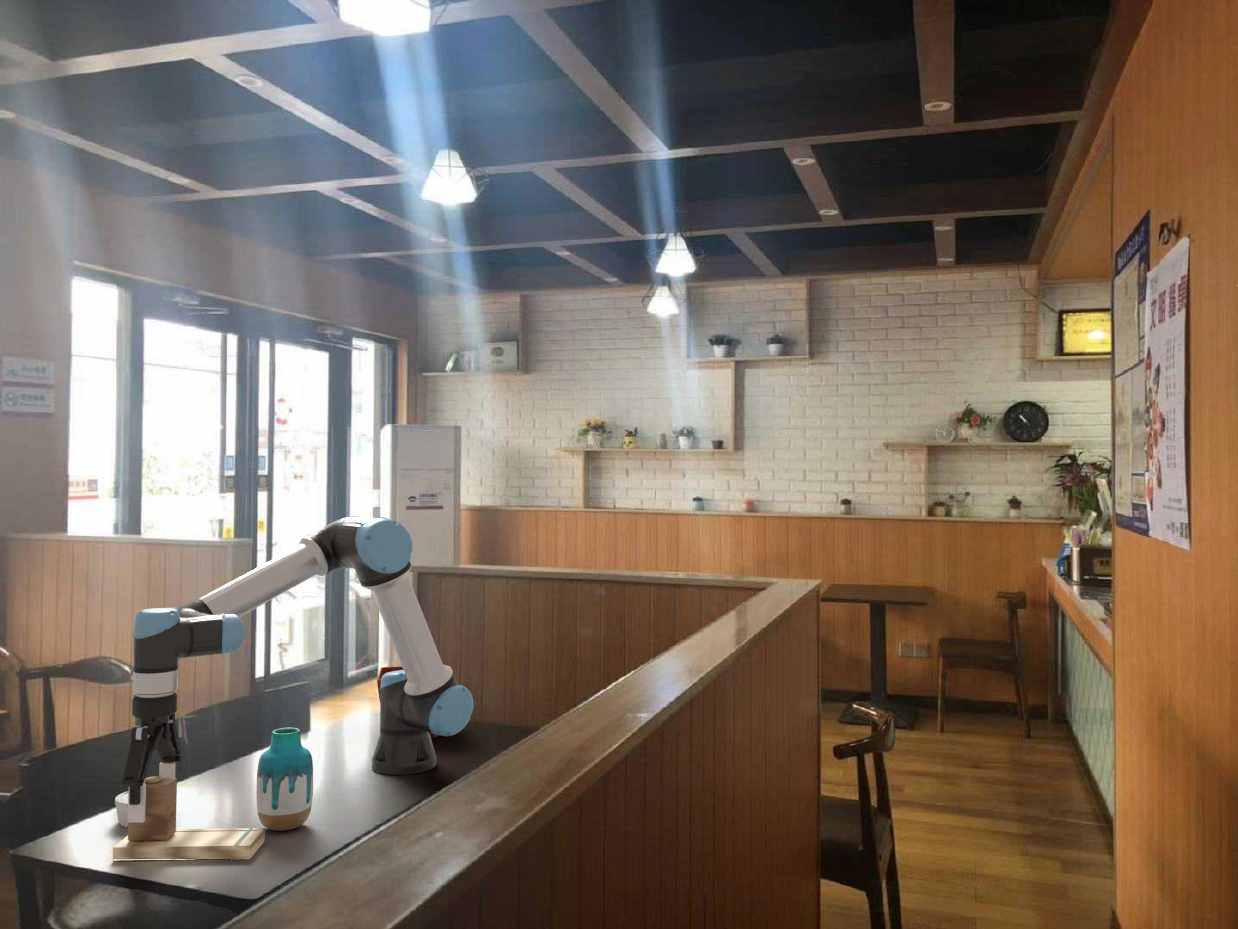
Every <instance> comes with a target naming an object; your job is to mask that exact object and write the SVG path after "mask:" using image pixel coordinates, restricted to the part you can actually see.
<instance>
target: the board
mask: <svg viewBox="0 0 1238 929" xmlns="http://www.w3.org/2000/svg"><path fill="white" fill-rule="evenodd" d="M265 828H266V827H246V828H245V827H244V828H243V827H237V828H235V827H234V828H233V827H232V828H231V827H230V828H229V827H228V828H227V827H226V828H176V833H174V834H173V835H172V836H171V837H170V838H169V839H168V840H134V841H128V835H126V836H125V837H123V839H121V840H120V841H119V842H118V843H117V844H116V845H114V846H113V847H112V860H113V859H226V860H225V861H228V860H227V859H230V861H232V860H233V859H234V861H235V860H241V859H242V860H243V859H244V860H251V859H252V857H253V856H254V855H255V854H256V852H257V851H258V850H259V849H260V847H261V846H262V845H263V844H264V842H265V841H266V840H265V838H266V837H265V836H266V834H265V832H266V829H265Z"/></svg>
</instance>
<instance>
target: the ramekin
mask: <svg viewBox="0 0 1238 929" xmlns="http://www.w3.org/2000/svg"><path fill="white" fill-rule="evenodd" d="M114 805H115V807H116V816H117V821H118V823H119V825H121V827H123V826H126V827H125V828H127V827H128V791H124V792H122V793H120V794H118V795H116V796H115V799H114Z"/></svg>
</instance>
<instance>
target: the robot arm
mask: <svg viewBox="0 0 1238 929" xmlns="http://www.w3.org/2000/svg"><path fill="white" fill-rule="evenodd" d="M413 546H414V545H413V540H412V538H411V535H410V533H409V531H408V529H407V528H406V527H405V526H404V525H403V524H401V523H400V522H398V521H396V520H395V519H390V518H387V517H381V516H375V517H374V516H373V517H371V516H370V517H368V516H356V515H351V516H346V517H343V518H340V519H337V520H335V521H333V522H331V523H328V524H326V525H324V526H323V527H321V528H319V529H316V530H315V531H313V532H311V533H309V534H307V535H306V536H304V537H302V538H301V539H300V541H299V544H298V545H297V546H295V547H293V548H291V549H289V550H288V551H286V552H284V553H281V554H279V555H278V556H276V557H274V558H273V559H270V560H268V561H267V562H265V563H263V564H261V565H259V566H257V567H256V568H254V569H252V570H249V571H248V572H246V573H244V574H243V575H240V576H238V577H237V578H234V579H233V580H231V581H229V582H227V583H225V584H224V585H222V586H220V587H218V588H216V589H214V590H213V591H210V592H208V593H206V594H204V595H203V596H201V597H199V598H197V599H195V600H193V601H190V602H189V603H188V604H185V605H184V606H176V607H161V608H160V607H155V608H153V607H152V608H145V609H141V610H140V611H138V612H137V613H136V615H135V618H134V626H133V634H132V638H133V667H132V668H133V672H132V673H133V674H132V675H131V676H130V680H132V692H133V694H135V695H133V697H132V699H131V700H132V701H131V715H132V716H133V717H134V718H138V719H140V726H139V727H133V728H132V729H131V737H130V740H131V741H130V744H129V749H128V755H127V758H126V763H125V767H124V768H125V769H124V774H123V778H122V783H121V784H122V786H123V787H128V822H144V821H145V806H146V784H143V783H144V780H145V779H146V778H147V777H146V776H147V773H148V769H149V766H150V764H151V760H152V758H153V757H152V756H153V752H155V751H156V750H157V751H158V754H159V756H160V760H161V762H160V763H159V768H158V771H159V772H158V776H160V777H162V778H176V764H177V763H176V762H181V760H182V755H181V753H182V752H181V746H180V740H179V736H178V729H177V724H176V713H177V710H178V694H177V693H176V692H177V691H178V689H179V688H178V687H179V683H178V682H179V659H187V658H194V657H202V656H203V657H204V656H213V655H224V654H229V653H234V652H237V651H239V650H240V648H241V647H242V645H243V642H244V638H245V628H244V623H243V621H242V619H241V617H243V616H244V615H246V614H248V613H250V612H251V611H254V610H255V609H257V608H259V607H261V606H263V605H264V604H266V603H268V602H270V601H271V600H274V599H276V598H277V597H278V596H281V595H282V594H284V593H286V592H287V591H289V590H291V589H293V588H295V587H296V586H299V585H300V584H302V583H304V582H306V581H307V580H309V579H311V578H314V576H319V577H323V576H324V577H325V576H326V575H327V574H330V573H331V572H334V571H336V570H337V571H338V570H340V569H353V570H354V571H355V573H356V576H357V579H358V580H359V584H360V585H361V587H362V588H365V589H368V590H370V592H371V594H372V596H373V599H374V601H375V603H376V606H377V608H378V611H379V614H380V616H381V619H382V621H383V623H384V625H385V627H386V631H387V633H388V635H389V638H390V640H391V642H392V645H393V647H394V650H395V652H396V655H397V657H398V660H399V662H400V665H401V666H402V667H403V670H399V671H392V672H388V673H385V674H384V675H383V676H382V678H381V686H380V691H381V694H380V699H379V703H380V704H379V706H380V708H379V710H380V711H379V712H380V713H379V718H380V719H379V722H380V723H379V737H378V740H377V743H376V745H375V749H374V752H373V755H372V758H371V769H372V770H373V771H374V772H376V773H380V774H382V775H391V776H405V775H407V776H408V775H415V774H420V773H424V772H427V771H430V770H432V769H434V768H435V767H436V766H437V754H436V751H435V748H434V744H433V742H432V738H431V737H430V734H429V732H430V733H433V734H435V735H438V736H443V737H450V736H454V735H456V734H458V733H460V732H461V731H462V730H463V729H464V728H465V727H466V726H467V724H468V723H469V721H470V720H471V715H472V714H473V712H474V711H473V710H474V698H473V695H472V693H471V690H469V689H468V688H466V686H465V685H462V684H459V682H458V680H457V679H456V675H455V673H454V671H453V668H452V667H451V666H450V665H449V666H450V667H449V666H446V664H443V661H442V659H441V656H440V654H439V651H438V648H437V645H436V644H435V641H434V638H433V635H432V633H431V631H430V628H429V625H428V623H427V621H426V617H425V615H424V613H423V610H422V608H421V605H420V603H419V600H418V597H417V595H416V593H415V590H414V587H413V585H412V582H411V580H410V578H409V573H410V572H411V569H412V567H413V566H412V563H411V561H410V560H411V559H412V552H413Z"/></svg>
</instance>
